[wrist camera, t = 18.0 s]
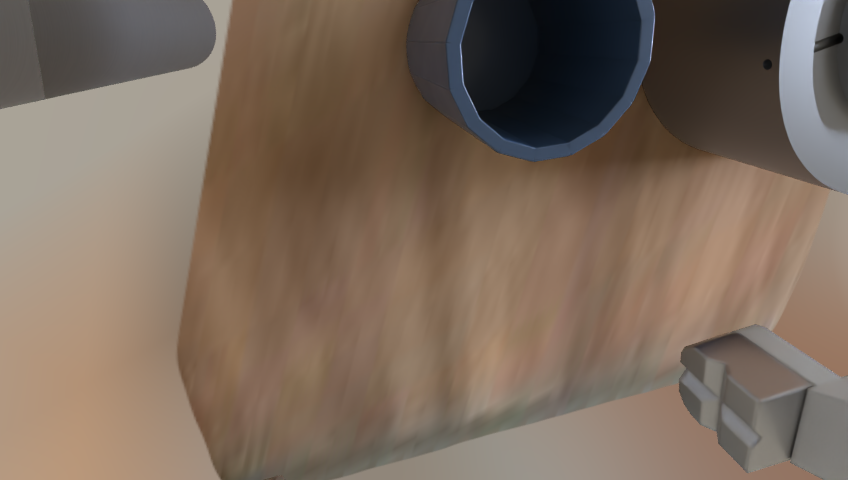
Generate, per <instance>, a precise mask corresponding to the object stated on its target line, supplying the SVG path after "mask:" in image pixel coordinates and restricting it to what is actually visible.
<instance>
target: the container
mask: <svg viewBox="0 0 848 480" xmlns="http://www.w3.org/2000/svg"><path fill="white" fill-rule="evenodd" d="M652 3H653V7H654V11H655V24H654V34H653V44H652V54H651V61H650V64H649V67H648V69H647V71H646V74H645V76H644V78H643V81H642V84H643V88H644V91H645V94H646V96H647V99H648V101H649V103H650V105H651V107H652V109H653V111H654V113H655V114H656V116H657V117H658V119H659V120H660V122H661V123H662V124H663V125H664V126H665V127H666V128H667V130H668V131H669V132H671V133H672V134H673V135H674V136H675V137H677V138H678V139H679V140H681V141H682V142H684V143H686V144H688V145H690V146H692V147H694V148H697V149H700V150H703V151H706V152H710V153H713V154H716V155H719V156H723V157H726V158H729V159H733V160H736V161H739V162H742V163H746V164H749V165H752V166H756V167H759V168H762V169H765V170H769V171H772V172H775V173H779V174H782V175H785V176H788V177H792V178H795V179H798V180H801V181H805V182H808V183H811V184H815V185H818V186H821V187H824V188H828V189H831V190H834V191H838V192H841V193H844V194H847V195H848V0H652Z"/></svg>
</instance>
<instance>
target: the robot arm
mask: <svg viewBox="0 0 848 480" xmlns="http://www.w3.org/2000/svg"><path fill="white" fill-rule="evenodd" d="M680 362H681V363H682V364H683V365H684V366H685V367H686V370H685V371H684V373H683V374H682V376H681V377H680V378H679V392H680V394H681V397H682V400H683V402H684V405H685V406H686V408H687V409H688V411H689V412H690V414H691V415H692V416H693V417H694V418H695V419H696V420H697V421H698V423H699V424H700V425H702V426H705V427H707V428H709V429H712V430H714V431H716V432H717V437H718V443H719V445H720V446H721V447H722V448H723V449H724V450H725V451H726V452H727V453H728V454H729V455H730V456H731V457H732V458H733V459H734V460H735V461H736V462H737V463H738V464H739V465H740V466H741V467H742V468H743V469H744V470H745V471H746V472H747V473H749V472H753V471H756V470H759V469H762V468H765V467H768V466H772V465H775V464H778V463H782V462H785V461H788V460H791V461H790V463H792V464H794V465H796V466H798V467H800V468H802V469H804V470H806V471H808V472H809V473H811V474H814V475H815V476H817V477H819V478H821V479H823V480H848V376H844V377H840V376H838V375H837V374H835V373H834V372H832V371H831V370H829V369H828V368H826V367H825V366H823V365H821V364H820V363H818V362H817V361H815V360H814V359H812V358H811V357H809V356H808V355H806V354H805V353H803V352H802V351H800V350H799V349H797V348H796V347H794V346H793V345H791V344H790V343H788V342H786V341H785V340H784V339H782V338H781V337H779V336H778V335H776V334H775V333H773V332H772V331H770V330H768V329H767V328H765V327H763V326H760V325H756V324H754V325H751V326H748V327H745V328H742V329H739V330H736V331H732V332H730V333H725V334H722V335H719V336H716V337H713V338H710V339H707V340H704V341H701V342H698V343H695V344H692V345H689V346H686V347H685V348H684V349H683V351H682V352H681V361H680ZM265 480H284V478H283V476H276V477H272V478H269V479H265Z"/></svg>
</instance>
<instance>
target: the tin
mask: <svg viewBox="0 0 848 480" xmlns="http://www.w3.org/2000/svg"><path fill="white" fill-rule="evenodd" d="M654 24H655V11H654V7H653V3H652V0H419V2H418V4H417V5H416V7H415V8H414V11H413V14H412V17H411V20H410V24H409V28H408V34H407V42H406V43H407V46H406V47H407V59H408V65H409V69H410V74H411V76H412V78H413V80H414V82H415V84H416V86H417V88H418V89H419V91H420V93H421V94H422V96H423V98H424V99H425V100H426V101H427V102H428V103H430V104H431V105H432V106H433V107H434V108H436V109H437V110H438V111H439V112H441V113H442V114H443V115H444V116H446V117H447V118H449V119H450V120H451V121H453V122H454V123H456V124H457V125H459V126H460V127H461V128H463V129H464V130H466V131H467V132H469V133H470V134H471V135H473V136H474V137H476V138H477V139H479V140H480V141H481V142H483V143H484V144H486V145H487V146H489V147H490V148H491V149H493V150H494V151H496V152H498V153H500V154H504V155H508V156H512V157H516V158H520V159H523V160H527V161H531V162H532V161H533V162H536V161H542V160H548V159H554V158H560V157H566V156H570V155H573V154H574V153H576V152H578V151H579V150H581V149H583V148H584V147H586V146H588V145H589V144H591V143H593V142H595V141H596V140H598V139H600V138H601V137H603V136H604V135H605V134H606V133H607V132H608V131H609V130H610V129H611V128H612V126H613V125H614V124H615V123H616V122H617V121H618V119H619V118H620V117H621V116H622V115H623V114H624V112H625V111H626V110H627V109H628V108H629V107H630V106H631V104H632V102H633V101H634V99H635V97H636V94H637V92H638V90H639V87H640V85H641V83H642V81H643V78H644V76H645V74H646V71H647V69H648V67H649V64H650V61H651V54H652V44H653V34H654Z"/></svg>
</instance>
